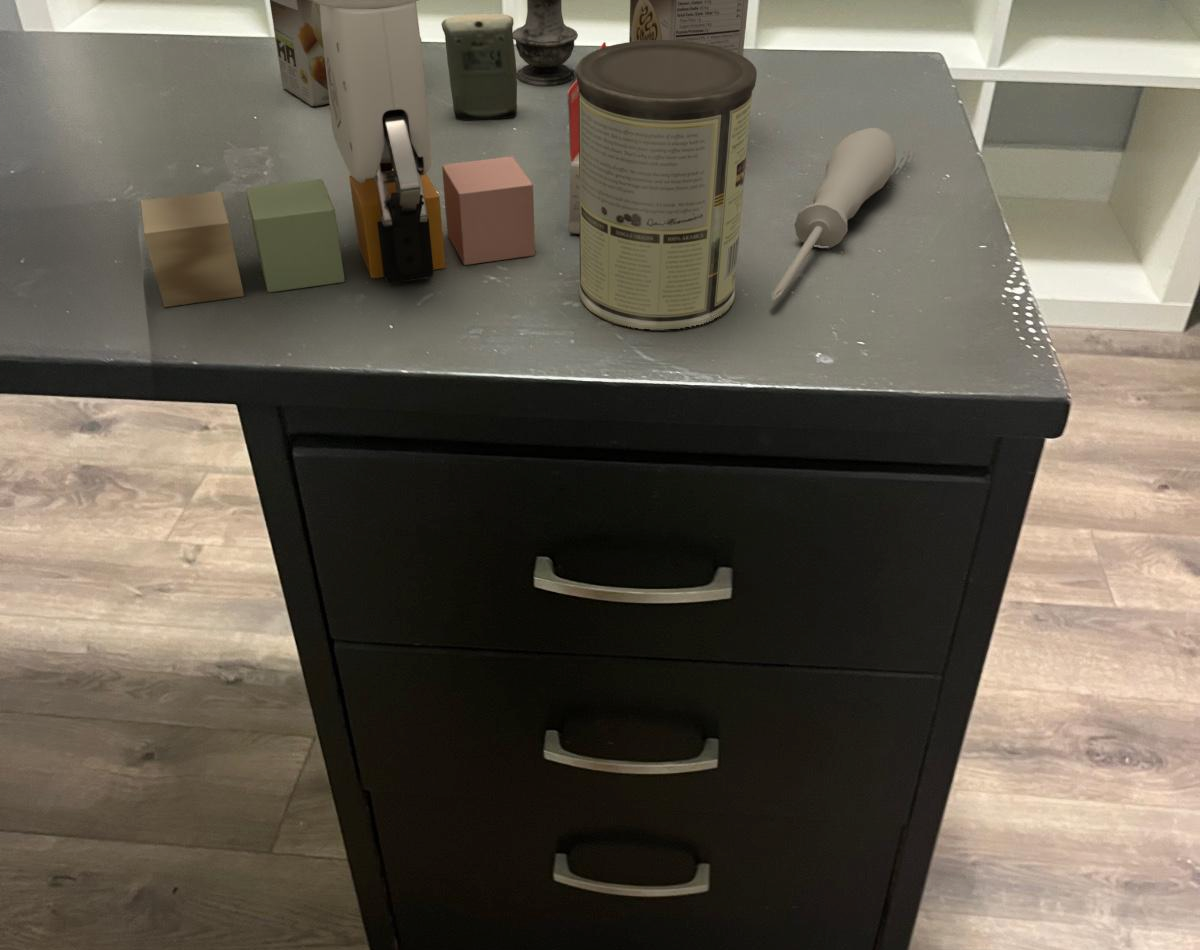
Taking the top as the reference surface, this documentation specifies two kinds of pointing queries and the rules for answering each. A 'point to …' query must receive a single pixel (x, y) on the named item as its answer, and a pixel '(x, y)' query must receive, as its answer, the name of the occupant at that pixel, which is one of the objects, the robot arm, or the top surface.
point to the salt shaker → (545, 44)
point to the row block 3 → (489, 210)
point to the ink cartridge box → (574, 156)
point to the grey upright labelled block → (481, 66)
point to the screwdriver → (842, 193)
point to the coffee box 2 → (690, 21)
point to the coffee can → (661, 180)
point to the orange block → (370, 215)
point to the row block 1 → (191, 248)
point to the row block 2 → (295, 235)
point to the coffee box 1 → (300, 49)
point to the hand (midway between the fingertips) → (397, 251)
